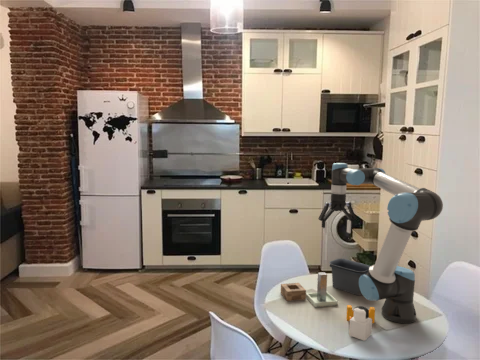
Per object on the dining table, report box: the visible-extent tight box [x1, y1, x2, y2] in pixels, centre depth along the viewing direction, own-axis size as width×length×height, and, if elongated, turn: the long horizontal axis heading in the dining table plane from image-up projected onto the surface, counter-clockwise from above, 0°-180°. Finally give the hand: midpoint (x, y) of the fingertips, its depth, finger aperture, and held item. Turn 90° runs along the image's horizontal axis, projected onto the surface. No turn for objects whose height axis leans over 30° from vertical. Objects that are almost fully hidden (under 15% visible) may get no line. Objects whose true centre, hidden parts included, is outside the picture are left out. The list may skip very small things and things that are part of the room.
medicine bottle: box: [348, 305, 373, 342], centre depth 166 cm, size 7×7×12 cm
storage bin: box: [328, 257, 372, 296], centre depth 215 cm, size 21×16×14 cm
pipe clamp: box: [346, 304, 376, 324], centre depth 181 cm, size 12×4×6 cm, turn 80°
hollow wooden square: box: [280, 282, 307, 302], centre depth 205 cm, size 10×10×5 cm
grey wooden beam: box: [316, 271, 328, 302], centre depth 199 cm, size 3×3×14 cm
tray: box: [306, 290, 339, 308], centre depth 200 cm, size 12×12×2 cm
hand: (336, 233), depth 206 cm, fingers open, 13 cm apart
